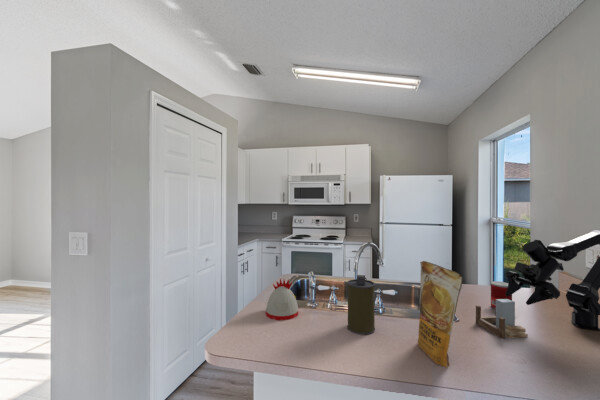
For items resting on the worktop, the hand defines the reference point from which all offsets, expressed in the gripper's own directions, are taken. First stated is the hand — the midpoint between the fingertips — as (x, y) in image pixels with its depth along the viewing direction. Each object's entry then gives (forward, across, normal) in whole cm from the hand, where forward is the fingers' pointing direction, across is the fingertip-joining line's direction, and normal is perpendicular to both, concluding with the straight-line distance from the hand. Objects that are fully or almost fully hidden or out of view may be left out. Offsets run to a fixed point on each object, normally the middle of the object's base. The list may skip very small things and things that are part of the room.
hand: (516, 299), depth 109 cm
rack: (+11, 0, +5) cm, 12 cm away
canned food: (0, -21, +16) cm, 27 cm away
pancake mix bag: (+37, +14, -21) cm, 45 cm away
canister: (+50, -6, -33) cm, 60 cm away
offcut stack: (+11, +5, +4) cm, 13 cm away
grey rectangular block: (+11, 0, +5) cm, 12 cm away
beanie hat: (+71, -24, -54) cm, 92 cm away
